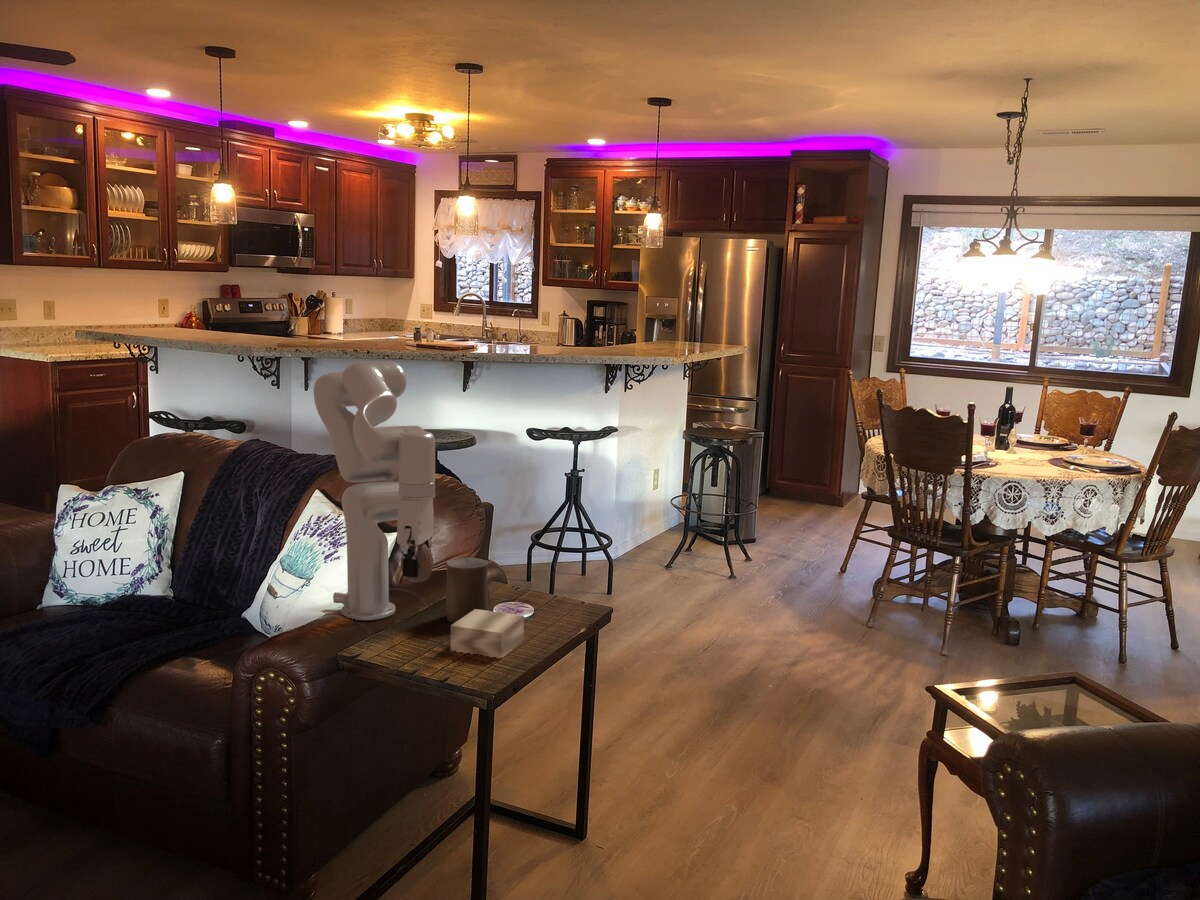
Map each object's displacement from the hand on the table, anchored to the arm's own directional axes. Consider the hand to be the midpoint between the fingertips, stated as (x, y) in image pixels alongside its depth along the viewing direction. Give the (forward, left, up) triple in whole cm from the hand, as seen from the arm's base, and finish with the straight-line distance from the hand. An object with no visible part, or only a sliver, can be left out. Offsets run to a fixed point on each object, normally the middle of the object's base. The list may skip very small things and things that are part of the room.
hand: (417, 570), depth 204 cm
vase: (0, 0, -2) cm, 2 cm away
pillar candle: (+4, +22, -18) cm, 28 cm away
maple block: (+14, +6, -18) cm, 23 cm away
